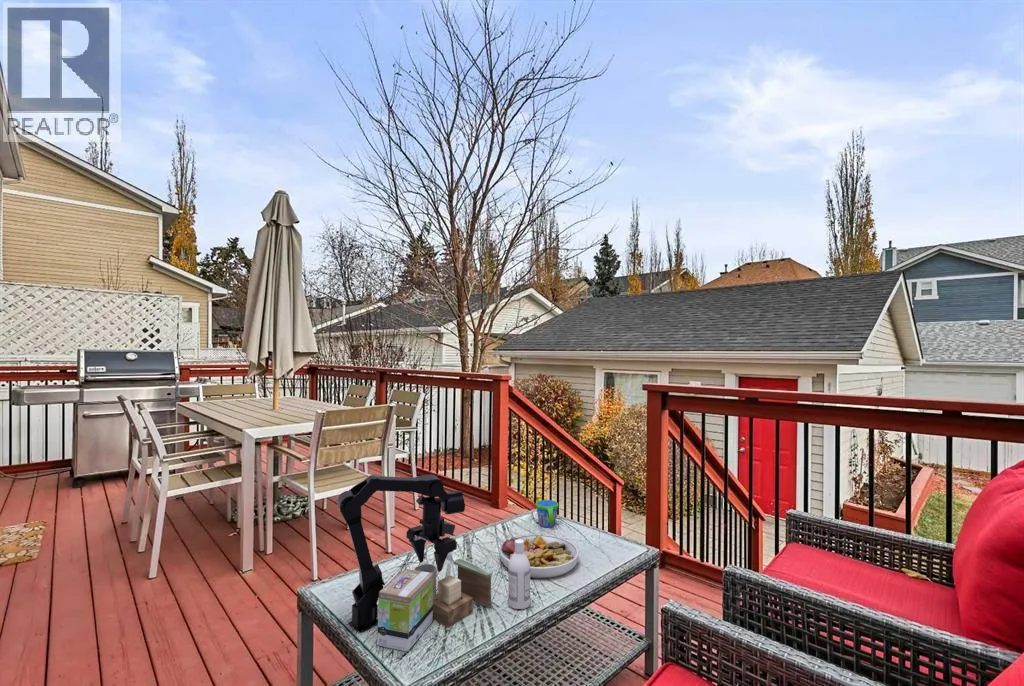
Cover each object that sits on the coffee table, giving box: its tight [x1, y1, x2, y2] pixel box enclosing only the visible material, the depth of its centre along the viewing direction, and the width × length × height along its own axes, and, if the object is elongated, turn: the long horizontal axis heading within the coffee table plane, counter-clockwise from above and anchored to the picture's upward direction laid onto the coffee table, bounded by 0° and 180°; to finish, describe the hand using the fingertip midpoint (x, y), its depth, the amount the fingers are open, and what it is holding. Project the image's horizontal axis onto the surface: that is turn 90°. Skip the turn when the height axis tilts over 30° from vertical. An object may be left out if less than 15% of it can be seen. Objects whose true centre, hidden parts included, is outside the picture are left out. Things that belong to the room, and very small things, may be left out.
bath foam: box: [507, 539, 531, 610], centre depth 146 cm, size 7×7×20 cm
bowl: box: [499, 534, 579, 579], centre depth 176 cm, size 30×30×8 cm
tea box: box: [376, 568, 434, 652], centre depth 131 cm, size 15×10×15 cm
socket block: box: [433, 558, 493, 628], centre depth 143 cm, size 16×15×11 cm
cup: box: [413, 563, 438, 596], centre depth 152 cm, size 7×10×9 cm
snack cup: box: [535, 499, 559, 528], centre depth 214 cm, size 16×10×10 cm
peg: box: [437, 575, 461, 606], centre depth 141 cm, size 5×5×10 cm
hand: (430, 566), depth 145 cm, fingers open, 9 cm apart
